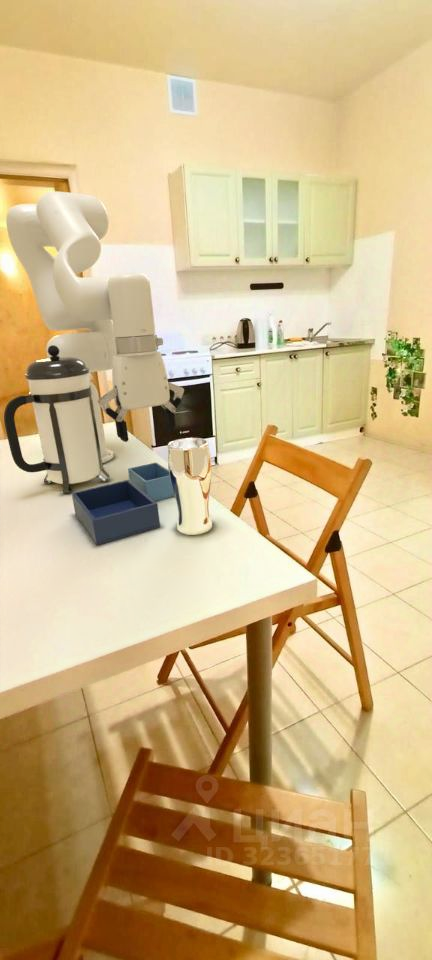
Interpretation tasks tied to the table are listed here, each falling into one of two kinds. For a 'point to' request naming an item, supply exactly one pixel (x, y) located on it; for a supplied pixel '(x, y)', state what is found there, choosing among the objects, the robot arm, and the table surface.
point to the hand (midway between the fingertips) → (147, 435)
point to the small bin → (152, 480)
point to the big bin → (115, 511)
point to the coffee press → (60, 421)
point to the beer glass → (191, 483)
